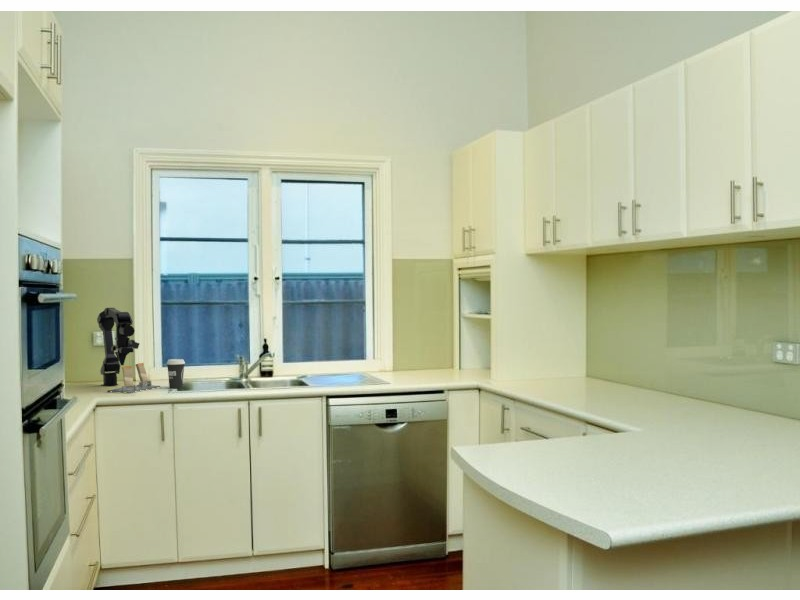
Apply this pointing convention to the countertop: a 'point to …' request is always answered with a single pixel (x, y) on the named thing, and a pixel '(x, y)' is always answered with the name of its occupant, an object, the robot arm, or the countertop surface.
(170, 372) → the coffee cup
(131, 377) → the lever
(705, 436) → the countertop surface
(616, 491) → the countertop surface
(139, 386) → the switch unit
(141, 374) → the lever
